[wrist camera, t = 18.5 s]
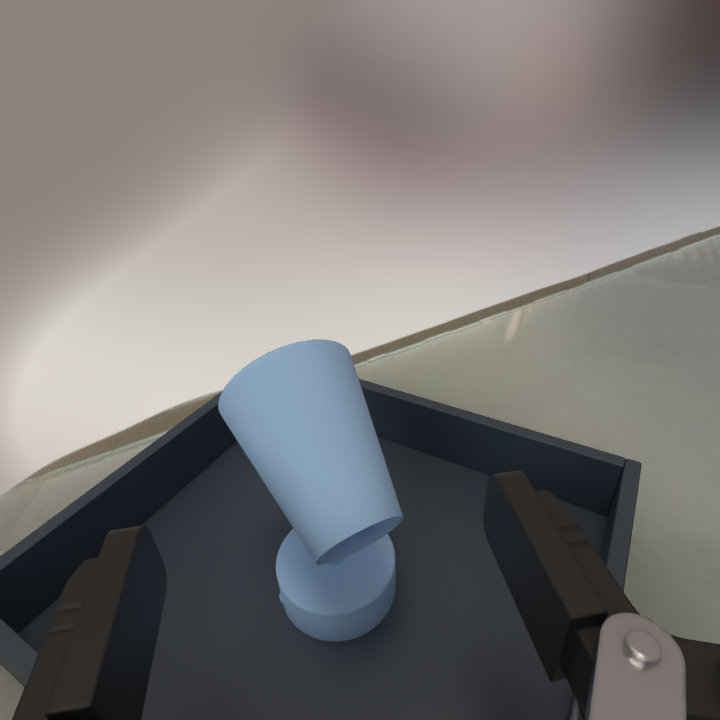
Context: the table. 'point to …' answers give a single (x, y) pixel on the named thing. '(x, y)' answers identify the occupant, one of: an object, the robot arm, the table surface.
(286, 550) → the spotlight
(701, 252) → the table surface
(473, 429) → the tray
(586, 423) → the table surface
